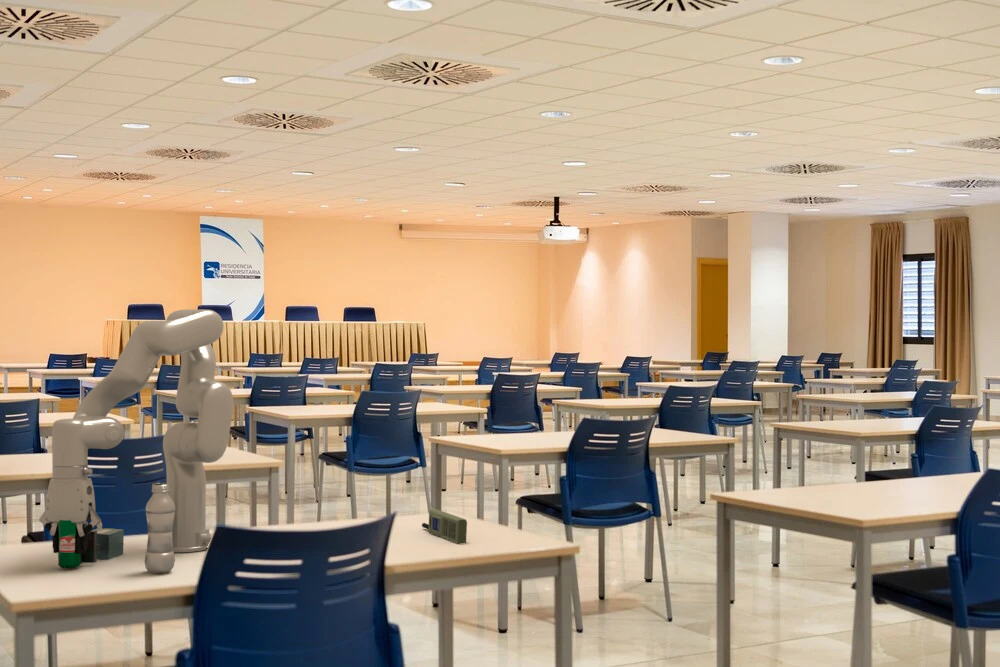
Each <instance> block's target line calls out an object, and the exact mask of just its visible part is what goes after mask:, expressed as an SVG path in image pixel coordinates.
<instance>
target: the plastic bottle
mask: <svg viewBox="0 0 1000 667" xmlns="http://www.w3.org/2000/svg"><path fill="white" fill-rule="evenodd" d="M168 492H169V484H168V483H167V482H156V483H152V485H151V493H152V495H151V497H150V498H149V500H148V501H147V503H146V506H145V515H146V522H147V546H146V552H145V555H144V556H145V557H144V566H145V567H144V568H145V569H146V571H147V572H149V573H155V574H163V573H167V572H170V571H172V570H173V569H174V567H175V563H176V562H175V561H176V558H175V552H174V551H173V542H172V530H173V520H174V513H175V504H174V502H173V500H172V499H171V498H170V496H169V495H168Z"/></svg>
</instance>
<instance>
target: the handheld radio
mask: <svg viewBox="0 0 1000 667" xmlns="http://www.w3.org/2000/svg"><path fill="white" fill-rule="evenodd" d="M428 509H429V511H428V523H426V522H423V523H422V524H421V527H422V528H424V529H427V530H428V533H429V534H431V533H432V534H431V535H433V534H434V536H436V535H437V537H438V536H439V538H441V537H442V538H441V539H443V538H444V540H446V539H447V540H446V541H449V542H451V541H452V542H451V543H454V542H455V543H454V544H456V543H457V544H456V545H461V544H460V543H465V544H466V542H467V535H468V534H467V533H468V532H467V530H468V529H467V528H468V520H467V519H466V518H462V517H460V516H457V515H454V514H451V513H448V512H447V511H443V510H440V509H437V508H433V507H429V508H428Z"/></svg>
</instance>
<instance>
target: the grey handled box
mask: <svg viewBox="0 0 1000 667" xmlns="http://www.w3.org/2000/svg"><path fill="white" fill-rule="evenodd" d="M96 529H97V531H102V529H103V523H102V521H101V522H100V523H99V524H98V525H97V526H96ZM97 531H91V532H90V534H88V547H87V551H86V552H84V553H82V563H87V564H88V563H91V564H94V563H97V561H98V559H97V551H99V550H100V546H99V545H97Z"/></svg>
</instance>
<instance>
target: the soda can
mask: <svg viewBox="0 0 1000 667" xmlns="http://www.w3.org/2000/svg"><path fill="white" fill-rule="evenodd" d="M78 536H79V533H78V529H77V525H76V523H72V522H71V520H69V519H67V518H63V519H60V520H59V522H58V553H57V559H58V560H57V563H58V564H57V565H58V567H59V568H60V569H76V568H79V567H80V566H81V565H82V564H83V562H82V553H81V554H77V537H78Z"/></svg>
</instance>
